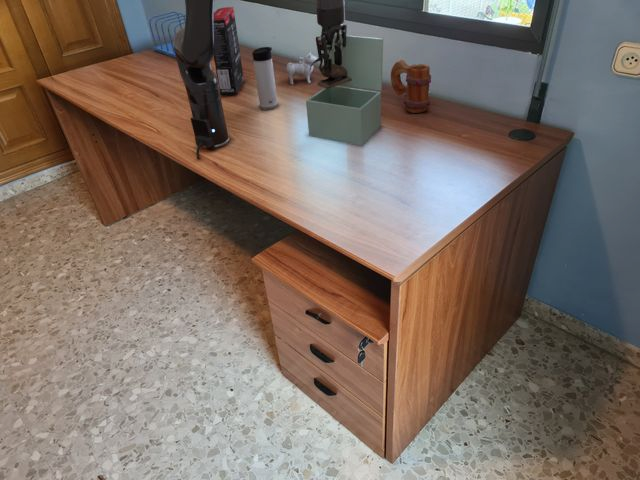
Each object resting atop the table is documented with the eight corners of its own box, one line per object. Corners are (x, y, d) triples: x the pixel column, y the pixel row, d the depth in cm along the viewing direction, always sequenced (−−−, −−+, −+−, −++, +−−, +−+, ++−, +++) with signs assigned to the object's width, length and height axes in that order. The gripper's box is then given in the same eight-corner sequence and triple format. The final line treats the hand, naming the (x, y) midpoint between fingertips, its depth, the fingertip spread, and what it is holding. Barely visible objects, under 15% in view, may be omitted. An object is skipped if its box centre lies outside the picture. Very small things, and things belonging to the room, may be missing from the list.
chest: (361, 145, 140) (360, 109, 133) (309, 135, 147) (305, 100, 140) (380, 127, 149) (381, 92, 142) (330, 118, 156) (328, 84, 150)
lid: (382, 39, 133) (390, 34, 136) (326, 34, 140) (335, 29, 144) (380, 91, 141) (388, 85, 145) (328, 83, 149) (336, 78, 153)
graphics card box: (228, 81, 191) (215, 7, 175) (245, 80, 191) (233, 6, 174) (220, 97, 178) (205, 19, 161) (238, 96, 177) (225, 17, 161)
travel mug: (276, 110, 164) (268, 50, 152) (257, 110, 166) (248, 51, 153) (280, 103, 169) (273, 45, 157) (263, 103, 171) (254, 45, 158)
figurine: (316, 93, 135) (314, 61, 130) (306, 89, 138) (304, 58, 133) (352, 80, 142) (351, 50, 137) (342, 77, 145) (341, 47, 139)
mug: (435, 109, 156) (439, 62, 147) (421, 117, 152) (424, 70, 143) (398, 99, 165) (400, 55, 156) (384, 107, 160) (385, 62, 151)
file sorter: (154, 51, 232) (145, 17, 223) (185, 42, 241) (177, 9, 232) (181, 60, 217) (172, 24, 208) (212, 50, 226) (206, 16, 217)
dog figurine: (320, 82, 184) (319, 53, 177) (287, 85, 183) (284, 56, 177) (319, 77, 188) (317, 49, 181) (287, 80, 187) (284, 52, 181)
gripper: (330, -3, 133) (333, 59, 143) (304, 10, 123) (309, 75, 134) (354, -2, 130) (356, 61, 140) (329, 11, 120) (333, 78, 130)
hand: (333, 68), depth 137 cm, fingers closed on figurine, 5 cm apart
